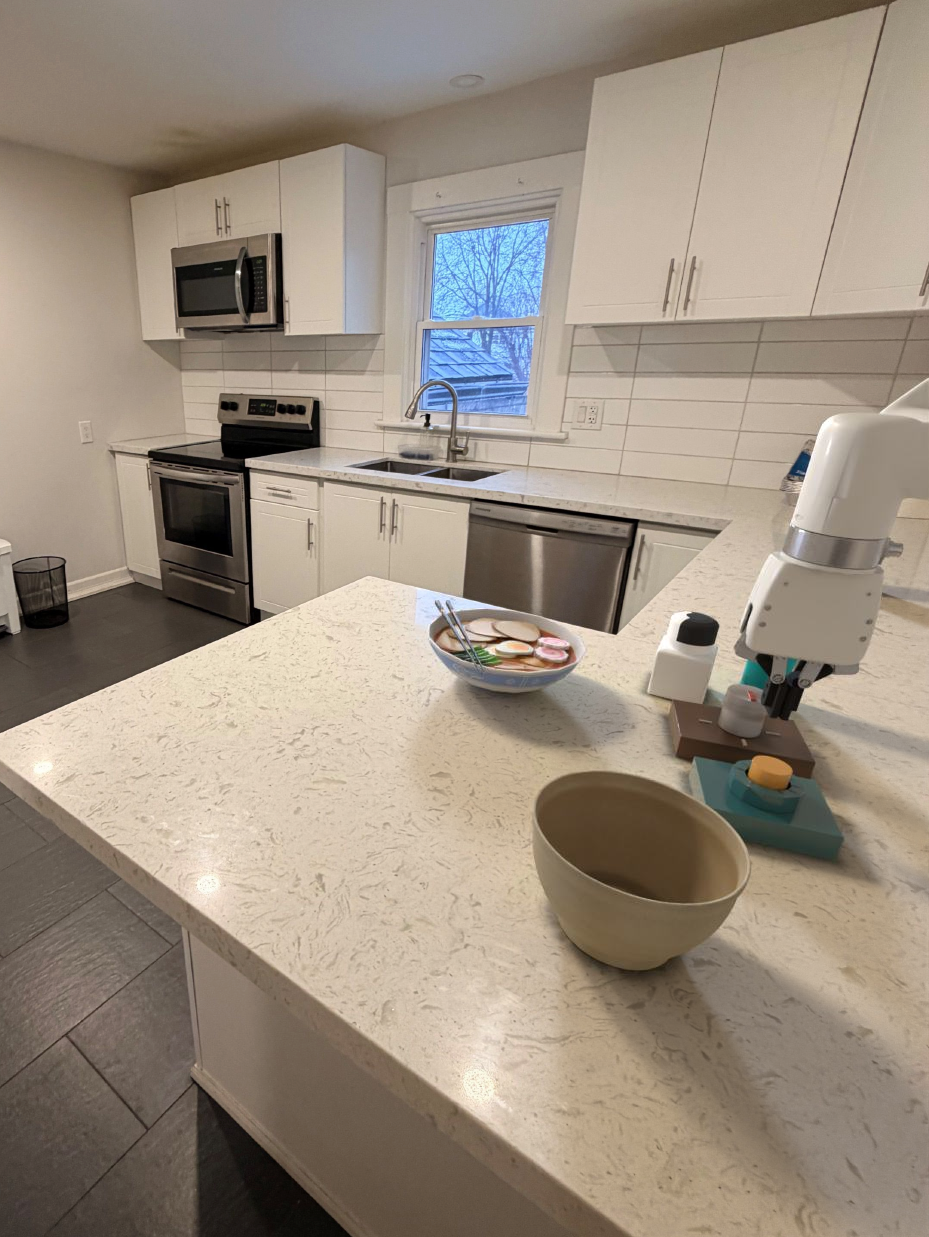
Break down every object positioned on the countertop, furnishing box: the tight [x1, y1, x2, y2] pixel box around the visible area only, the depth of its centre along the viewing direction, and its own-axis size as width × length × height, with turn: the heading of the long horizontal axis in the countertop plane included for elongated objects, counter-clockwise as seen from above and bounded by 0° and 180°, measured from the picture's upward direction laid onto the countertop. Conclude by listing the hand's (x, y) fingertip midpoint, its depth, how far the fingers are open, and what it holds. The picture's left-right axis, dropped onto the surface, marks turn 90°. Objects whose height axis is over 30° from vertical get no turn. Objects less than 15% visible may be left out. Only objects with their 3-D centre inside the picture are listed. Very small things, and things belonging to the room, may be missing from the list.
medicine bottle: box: [647, 611, 720, 704], centre depth 95 cm, size 7×7×12 cm
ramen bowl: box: [426, 599, 588, 694], centre depth 99 cm, size 25×23×8 cm
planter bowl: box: [531, 769, 752, 971], centre depth 56 cm, size 16×16×11 cm
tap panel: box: [667, 699, 817, 779], centre depth 83 cm, size 14×10×3 cm
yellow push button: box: [748, 756, 793, 791], centre depth 70 cm, size 4×4×2 cm
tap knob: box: [718, 683, 768, 738], centre depth 82 cm, size 5×5×5 cm
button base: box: [687, 756, 845, 862], centre depth 71 cm, size 12×10×5 cm
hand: (775, 713), depth 70 cm, fingers closed
